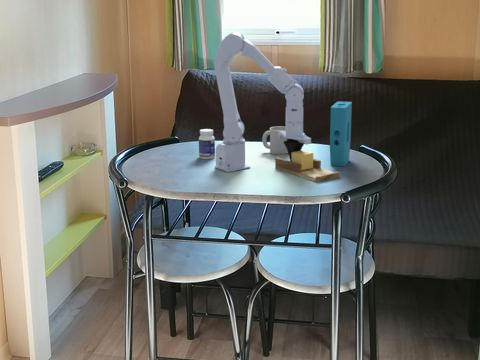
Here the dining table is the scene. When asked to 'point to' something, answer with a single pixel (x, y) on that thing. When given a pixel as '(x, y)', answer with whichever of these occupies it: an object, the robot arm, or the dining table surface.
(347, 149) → the block
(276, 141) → the cup
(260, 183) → the dining table surface
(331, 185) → the dining table surface
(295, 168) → the chute
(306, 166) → the block
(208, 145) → the pill bottle
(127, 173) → the dining table surface
